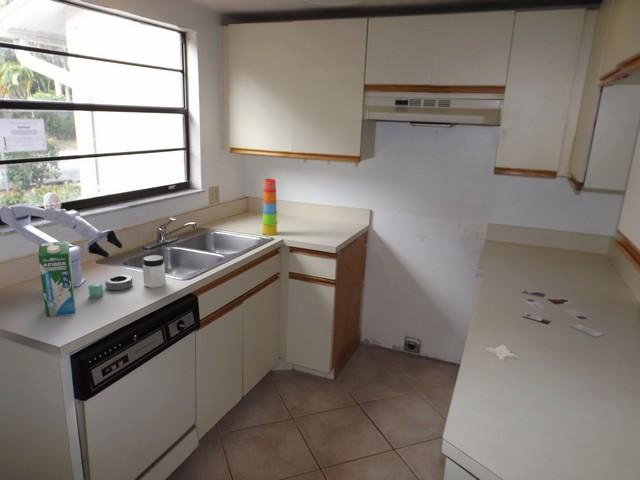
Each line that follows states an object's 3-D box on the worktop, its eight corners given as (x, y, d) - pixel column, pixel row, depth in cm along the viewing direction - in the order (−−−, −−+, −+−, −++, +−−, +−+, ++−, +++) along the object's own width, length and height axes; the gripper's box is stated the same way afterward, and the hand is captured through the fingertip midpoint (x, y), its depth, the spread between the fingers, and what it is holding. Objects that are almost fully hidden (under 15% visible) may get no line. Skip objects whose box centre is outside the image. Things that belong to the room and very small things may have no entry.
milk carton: (46, 316, 158) (37, 249, 152) (47, 307, 166) (39, 242, 159) (75, 312, 162) (67, 247, 156) (75, 303, 170) (68, 240, 163)
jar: (146, 289, 186) (144, 262, 183) (141, 283, 193) (140, 256, 190) (168, 285, 191) (166, 259, 188) (163, 279, 198) (161, 254, 195)
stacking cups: (281, 233, 283) (282, 179, 274) (269, 236, 276) (270, 180, 266) (269, 230, 290) (270, 177, 280) (258, 233, 282) (258, 178, 273)
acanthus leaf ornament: (485, 352, 148) (486, 346, 148) (500, 348, 151) (501, 343, 151) (502, 362, 142) (503, 357, 141) (518, 359, 145) (519, 353, 144)
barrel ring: (102, 291, 183) (101, 283, 182) (110, 282, 192) (109, 274, 191) (128, 290, 184) (128, 283, 183) (135, 282, 194) (134, 274, 193)
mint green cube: (87, 298, 175) (86, 287, 174) (91, 293, 180) (90, 283, 179) (100, 298, 176) (99, 287, 175) (104, 293, 180) (104, 283, 179)
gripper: (75, 233, 173) (103, 254, 173) (102, 217, 185) (129, 236, 185) (72, 245, 177) (100, 265, 177) (99, 228, 189) (125, 247, 189)
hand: (114, 251), depth 181 cm, fingers open, 7 cm apart
